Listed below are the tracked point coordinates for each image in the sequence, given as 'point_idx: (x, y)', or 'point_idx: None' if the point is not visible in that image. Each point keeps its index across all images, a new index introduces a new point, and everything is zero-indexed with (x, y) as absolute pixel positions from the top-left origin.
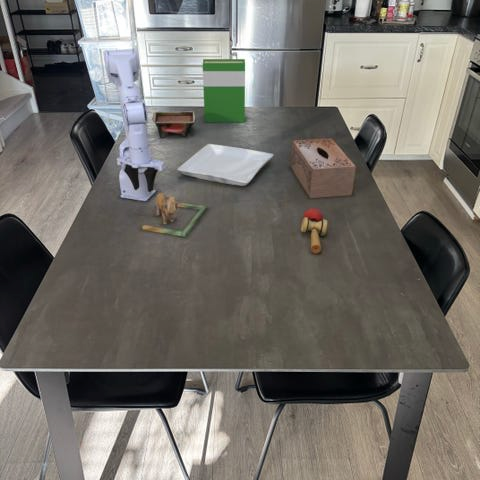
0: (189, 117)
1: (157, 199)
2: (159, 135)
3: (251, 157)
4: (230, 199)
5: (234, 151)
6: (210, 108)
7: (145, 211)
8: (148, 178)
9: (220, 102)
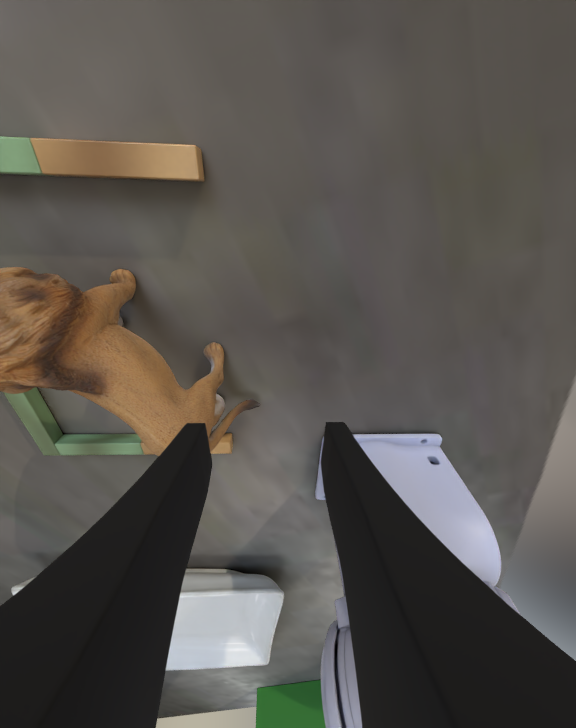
0: None
1: (184, 405)
2: None
3: None
4: (39, 513)
5: (192, 655)
6: (321, 722)
7: (291, 364)
8: (54, 598)
9: None
